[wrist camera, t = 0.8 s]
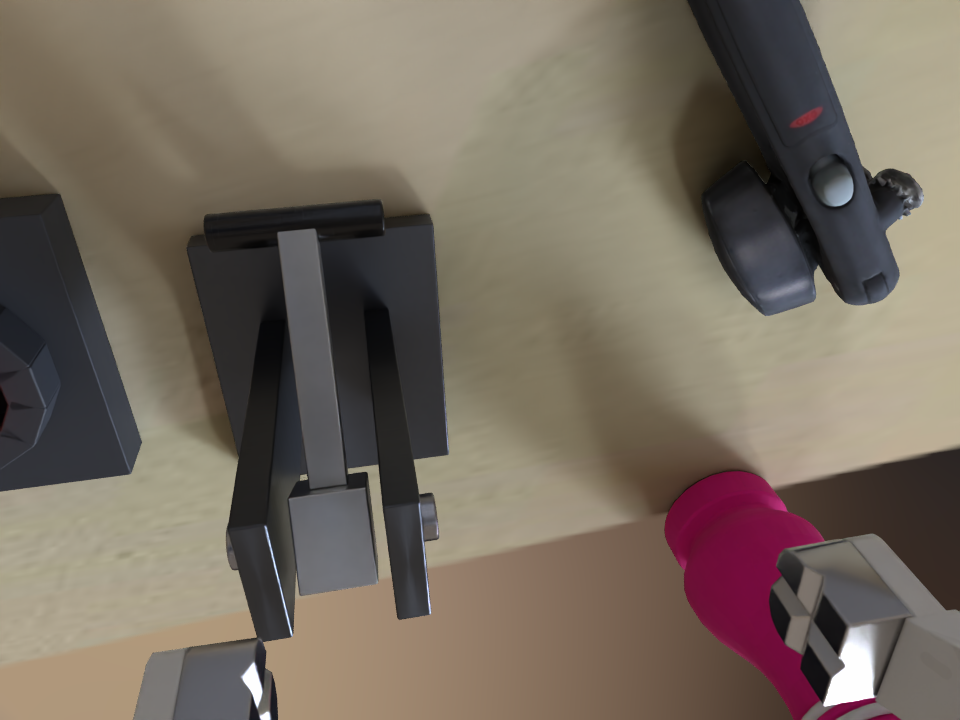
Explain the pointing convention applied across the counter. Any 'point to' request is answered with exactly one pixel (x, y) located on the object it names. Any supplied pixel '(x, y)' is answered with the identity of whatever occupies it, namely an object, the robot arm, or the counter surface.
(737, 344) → the counter surface
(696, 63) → the counter surface
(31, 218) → the control block
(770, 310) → the can opener
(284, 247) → the lever
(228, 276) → the bracket
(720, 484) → the pepper mill
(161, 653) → the robot arm
